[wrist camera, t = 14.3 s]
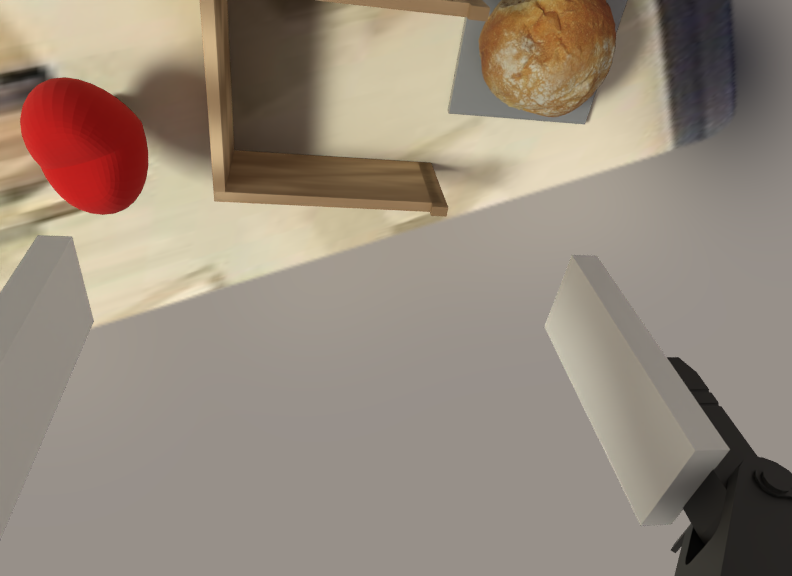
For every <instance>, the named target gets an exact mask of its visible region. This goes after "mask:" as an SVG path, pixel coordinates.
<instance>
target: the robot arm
mask: <svg viewBox="0 0 792 576" xmlns="http://www.w3.org/2000/svg"><path fill="white" fill-rule="evenodd" d="M93 322H94V320H93V316H92V312H91V308H90V304H89V300H88V297H87V293H86V289H85V285H84V281H83V277H82V273H81V269H80V265H79V261H78V257H77V254H76V250H75V246H74V242H73V238H72V237H70V236H42V235H38V236H37V237H36V239H35V240H34V242H33V243H32V245H31V247H30V248H29V250H28V251H27V253H26V254H25V256H24V257H23V259H22V260H21V262H20V263H19V265H18V266H17V268H16V269H15V271H14V272H13V274H12V276H11V277H10V279H9V280H8V282H7V283H6V285H5V286H4V288H3V289H2V291H1V292H0V540H1V537H2V535H3V533H4V530H5V528H6V526H7V523H8V521H9V519H10V516H11V514H12V511H13V509H14V507H15V505H16V502H17V500H18V498H19V495H20V493H21V491H22V488H23V486H24V484H25V481H26V479H27V477H28V474H29V472H30V470H31V467H32V465H33V463H34V460H35V458H36V455H37V453H38V451H39V449H40V446H41V444H42V441H43V439H44V437H45V434H46V432H47V430H48V427H49V425H50V423H51V420H52V418H53V415H54V413H55V411H56V409H57V406H58V404H59V401H60V399H61V397H62V395H63V392H64V390H65V388H66V385H67V383H68V380H69V378H70V376H71V373H72V371H73V369H74V366H75V364H76V362H77V359H78V357H79V354H80V352H81V350H82V348H83V345H84V343H85V341H86V338H87V336H88V334H89V331H90V329H91V327H92V324H93ZM545 329H546V331H547V333H548V335H549V337H550V339H551V341H552V343H553V346H554V347H555V350H556V352H557V354H558V356H559V358H560V360H561V362H562V364H563V366H564V368H565V370H566V373H567V375H568V377H569V378H570V381H571V383H572V385H573V387H574V389H575V391H576V393H577V395H578V397H579V399H580V401H581V403H582V405H583V408H584V409H585V412H586V414H587V416H588V418H589V420H590V422H591V424H592V426H593V428H594V430H595V433H596V435H597V437H598V439H599V440H600V443H601V445H602V447H603V449H604V451H605V453H606V455H607V457H608V459H609V461H610V464H611V466H612V468H613V470H614V472H615V474H616V476H617V478H618V480H619V482H620V484H621V486H622V488H623V490H624V493H625V495H626V497H627V499H628V501H629V503H630V505H631V507H632V509H633V511H634V513H635V515H636V517H637V519H638V521H639V524H640V526H650V525H666V524H667V525H668V524H672V523H673V521H674V520H675V519H676V518H677V517H678V515H679V514H680V513H681V511H682V510H683V509H684V511H685V512H686V515H687V516H688V518H689V520H690V522H691V524H690V526H689V527H688V528H687V529H686V530H685V532H684V533H683V534H682V535H681V536H680V538H679V539H678V540H677V541H676V543H675V544H674V546H673V547H672V549H671V551H673V552H675V553H676V552H677V551H678V550H679V548H680V547H681V546H682V548H681V552H680V556H679V560H678V564H677V568H676V572H675V576H792V473H791V472H790V471H789V470H787V469H786V468H784V467H782V466H781V465H779V464H778V463H776V462H773V461H771V460H768V459H765V458H760V457H758V456H757V455H756V454H755V452H754V451H753V450H752V448H751V447H750V445H749V444H748V443H747V441H746V440H745V439H744V437H743V436H742V434H741V433H740V432H739V430H738V429H737V428H736V426H735V425H734V423H733V422H732V421H731V419H730V418H729V416H728V415H727V414H726V413H725V411H724V410H723V408H722V407H721V406H719V405H718V401H717V400H716V398H715V397H714V396H713V394H712V393H709V389H708V387H707V386H706V385H705V384H704V382H703V380H702V379H701V378H700V376H699V375H698V374H697V372H696V371H694V370H693V369H692V368H691V367H689V366H688V365H687V364H686V363H684V362H683V361H682V360H681V359H680V358H678V357H675V358H674V357H673V358H671V357H666V356H665V354H664V353H663V351H662V350H661V348H660V347H659V346H658V344H657V343H656V341H655V340H654V339H653V337H652V335H651V334H650V333H649V331H648V329H647V328H646V327H645V325H644V324H643V322H642V321H641V319H640V318H639V316H638V315H637V314H636V312H635V311H634V309H633V308H632V306H631V305H630V303H629V302H628V300H627V299H626V298H625V296H624V295H623V293H622V292H621V290H620V289H619V287H618V286H617V284H616V283H615V282H614V280H613V279H612V277H611V276H610V274H609V273H608V271H607V270H606V268H605V267H604V265H603V264H602V263H601V261H600V260H599V258H598V257H597V256H589V255H572V256H571V259H570V262H569V264H568V267H567V269H566V272H565V275H564V277H563V280H562V282H561V285H560V288H559V290H558V293H557V295H556V298H555V301H554V303H553V306H552V309H551V311H550V314H549V316H548V319H547V322H546V324H545Z"/></svg>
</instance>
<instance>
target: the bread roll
mask: <svg viewBox="0 0 792 576" xmlns="http://www.w3.org/2000/svg"><path fill="white" fill-rule="evenodd" d="M615 40H616V31H615V22H614V19H613V15H612V12H611V8H610V6H609V4H608V3H607V2H606V0H501V1H500V2H499V3H498V4H497V6H496V7H495V9H494V10H493V12H492V13H491V14H490V15H489V16H488V21H487V22H485V24H484V26H483V29H482V31H481V33H480V37H479V41H478V42H479V52H480V54H479V56H480V58H481V67H482V74H483V78H484V81H485V82H486V84H487V86H488V87H489V89H490V91H491V92H492V93H493V94H494V95H495V96H496V97H497V98H499V99H500V100H501V101H502V102H503V103H505V104H507V105H508V106H509V107H513V108H516V109H518V110H521V109H522V110H523V111H527V112H530V113H534V114H537V115H540V116H545V117H559V116H562V115H566V114H568V113H570V112H572V111H573V110H575V109H576V108H578V107H580V106H581V105H582V104H583V103H584V102H585V101H587V100H588V99H589V98H590V97H591V96H592V95H593V94H594V92H595V91H596V89H597V88H598V87H599V86H600V85H601V84H602V82H603V81H604V79H605V77H606V76H607V74H608V72H609V69H610V66H611V64H612V58H613V54H614V51H615V44H616V43H615Z"/></svg>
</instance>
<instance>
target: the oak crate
mask: <svg viewBox="0 0 792 576" xmlns="http://www.w3.org/2000/svg"><path fill="white" fill-rule="evenodd" d="M317 1H326V2H335V3H344V4H353V5H362V6H371V7H380V8H389V9H398V10H407V11H416V12H425V13H434V14H443V15H452V16H461V17H467V18H468V19H469V20H477V21H486V22H487V21H488V16H489V12H490V7H489V6H488V5H487V4H486V3H485V2H484V1H483V0H317ZM200 11H201V25H202V38H203V52H204V66H205V79H206V93H207V107H208V120H209V134H210V148H211V162H212V175H213V189H214V201H219V202H240V203H260V204H281V205H301V206H322V207H343V208H363V209H384V210H404V211H425V212H430V213H431V216H446V215H447V211H448V206H447V203H446V200H445V198H444V195H443V193H442V190H441V187H440V185H439V182H438V180H437V177H436V174H435V172H434V169H433V166H432V164H431V163H425V162H409V161H393V160H378V159H362V158H347V157H331V156H315V155H300V154H284V153H268V152H253V151H237V150H234V135H233V113H232V91H231V70H230V48H229V26H228V5H227V0H200Z"/></svg>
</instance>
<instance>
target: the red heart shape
mask: <svg viewBox="0 0 792 576" xmlns="http://www.w3.org/2000/svg"><path fill="white" fill-rule="evenodd" d="M20 123H21V133H22V137H23V139H24V142H25V145H26V147H27V149H28V151H29V153H30V154H31V156H32V157H33V159H34V160H35V161H36V162H37V163H38V164H39V165H40V166H41V168H42V171H43V173H44V175H45V177H46V178H47V180H48V181H49V183H50V184H51V185H52V187H53V188H54V189H55V191H56V192H57V193H58V194H59V195H60V196H61V197H62V198H63V199H64V200H66V201H67V202H68V203H69V204H71V205H73V206H74V207H76V208H78V209H80V210H83V211H86V212H89V213H93V214H102V215H104V214H114V213H117V212H119V211H122V210H124V209H126V208H127V207H129V206H130V205H131V204H132V203H133V202H134V201H135V200H136V199H137V197H138V196H139V194H140V193H141V191H142V189H143V186H144V184H145V181H146V177H147V170H148V147H147V141H146V136H145V132H144V129H143V125H142V122H141V121H140V120H139V119H138V117H137V116H136V115H135V114H134V113H133V112H132V111H131V110H130V109H129V108H128V107H127V106H126V105H125V104H124V103H122V102H121V101H120V100H118V99H117V98H116V97H115V96H113V95H111V94H110V93H108V92H107V91H105V90H103V89H101V88H99V87H97V86H95V85H93V84H91V83H88V82H85V81H82V80H78V79H72V78H54V79H49V80H47V81H45V82H43V83H40V84H39V85H37V86H36V87H35V88H34V89H33V90H32V91H31V92H30V93H29V95H28V97H27V99H26V100H25V102H24V105H23V108H22V113H21V119H20Z"/></svg>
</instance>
